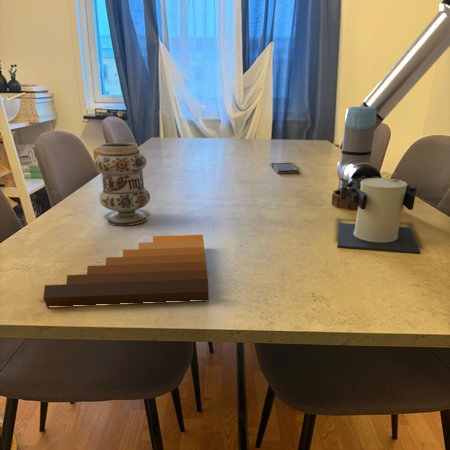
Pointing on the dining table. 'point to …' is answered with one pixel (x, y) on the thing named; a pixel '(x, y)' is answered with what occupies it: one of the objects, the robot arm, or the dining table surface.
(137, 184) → the apothecary jar
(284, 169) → the phone
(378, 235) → the can
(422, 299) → the dining table surface
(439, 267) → the dining table surface
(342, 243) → the mat
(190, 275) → the pan flute
